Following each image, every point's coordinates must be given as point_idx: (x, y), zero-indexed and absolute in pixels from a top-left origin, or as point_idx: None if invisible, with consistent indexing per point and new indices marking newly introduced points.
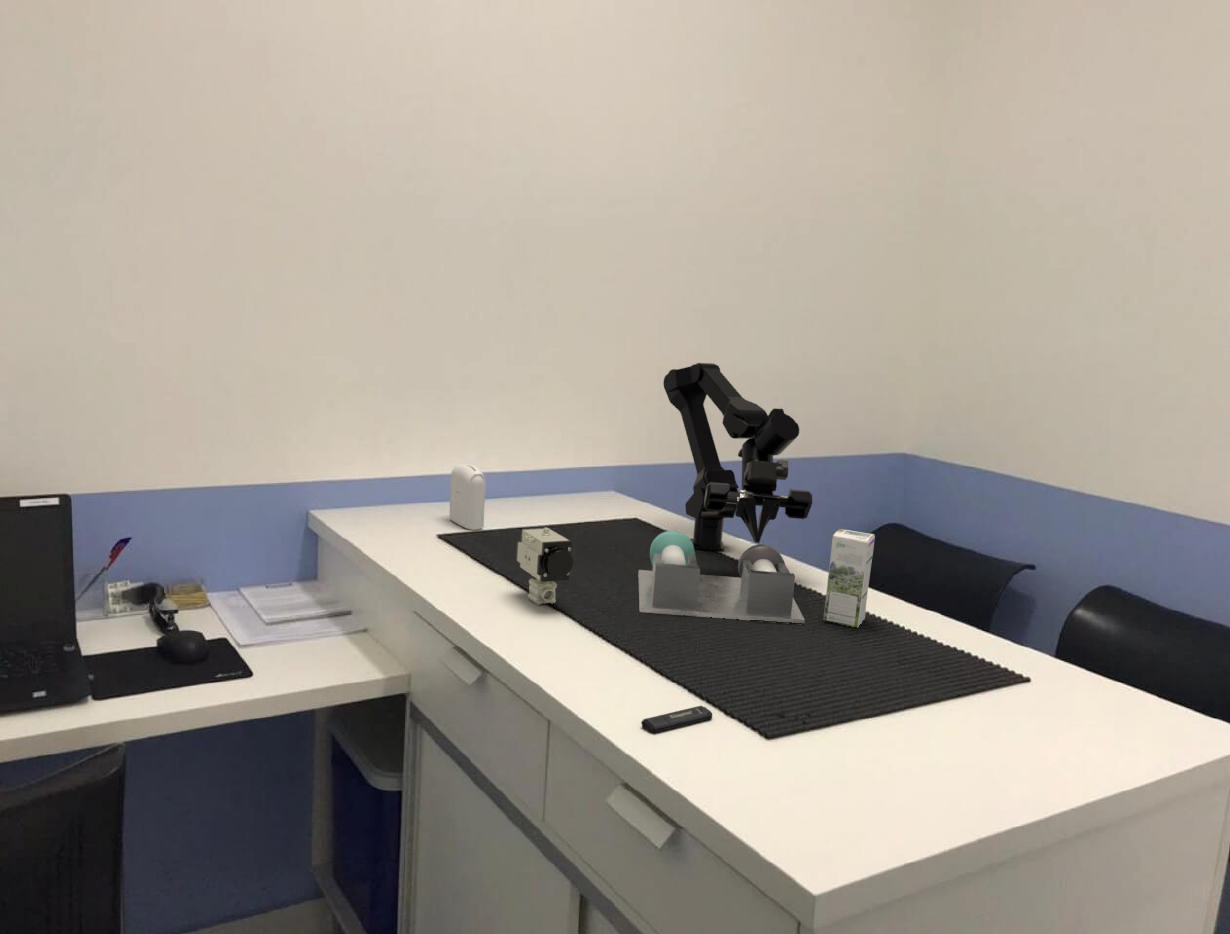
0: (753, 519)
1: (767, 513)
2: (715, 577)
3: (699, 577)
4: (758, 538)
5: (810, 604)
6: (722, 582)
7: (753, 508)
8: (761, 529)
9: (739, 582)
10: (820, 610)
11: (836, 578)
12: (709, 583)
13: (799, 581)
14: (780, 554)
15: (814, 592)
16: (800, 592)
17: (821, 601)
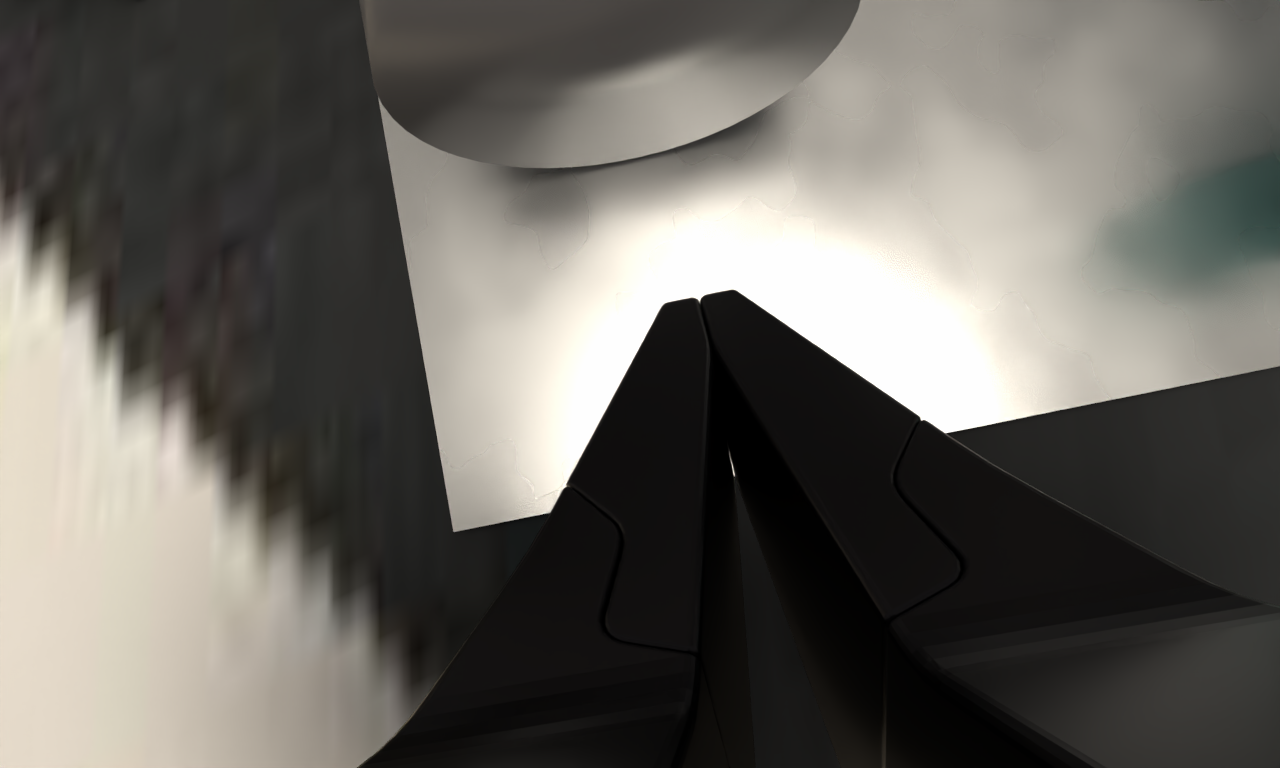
0: (880, 465)
1: (506, 689)
2: (1027, 358)
3: (1160, 290)
4: (691, 302)
5: (273, 126)
6: (945, 236)
7: (1042, 659)
8: (656, 387)
9: (810, 304)
10: (210, 24)
11: None
12: (1044, 156)
13: (347, 711)
14: (378, 14)
15: (238, 444)
16: (340, 393)
17: (196, 235)
